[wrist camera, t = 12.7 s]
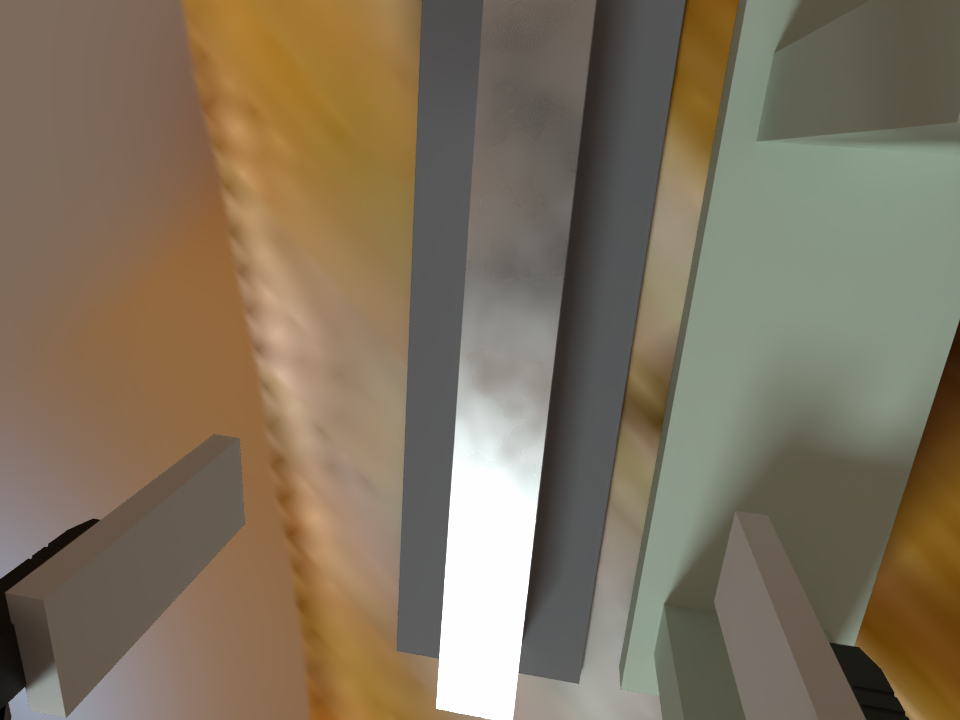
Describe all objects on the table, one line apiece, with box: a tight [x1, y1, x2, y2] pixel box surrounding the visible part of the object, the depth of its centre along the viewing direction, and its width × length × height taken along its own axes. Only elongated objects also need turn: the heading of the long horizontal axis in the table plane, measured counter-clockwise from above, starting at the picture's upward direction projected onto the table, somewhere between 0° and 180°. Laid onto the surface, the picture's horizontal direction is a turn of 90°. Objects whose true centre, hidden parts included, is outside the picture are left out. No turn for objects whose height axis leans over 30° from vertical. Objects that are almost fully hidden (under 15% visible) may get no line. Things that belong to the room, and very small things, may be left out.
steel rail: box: [437, 0, 597, 720], centre depth 26 cm, size 30×4×5 cm, turn 176°
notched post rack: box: [619, 0, 960, 720], centre depth 21 cm, size 32×10×15 cm, turn 176°
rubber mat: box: [397, 0, 686, 684], centre depth 29 cm, size 34×10×1 cm, turn 176°
